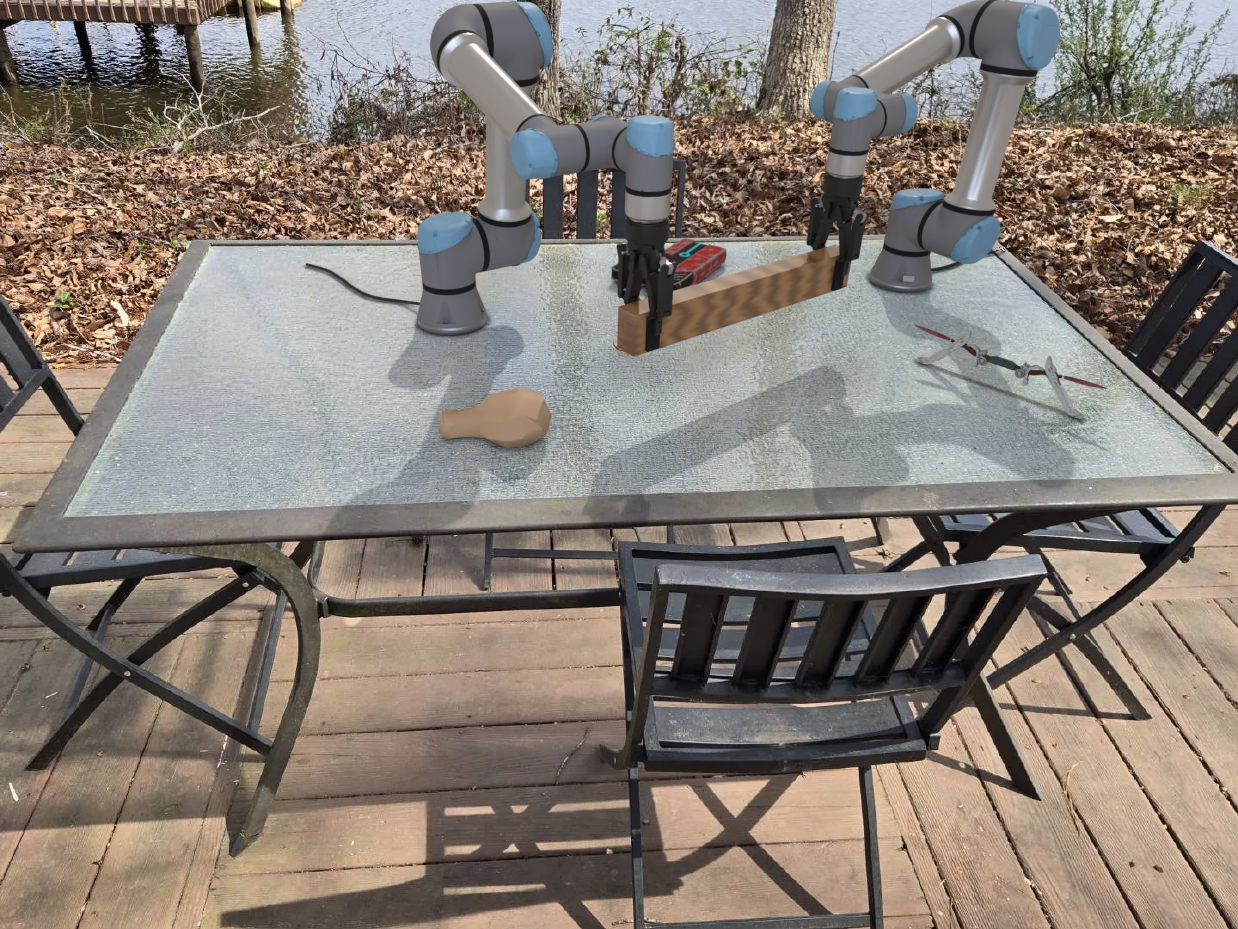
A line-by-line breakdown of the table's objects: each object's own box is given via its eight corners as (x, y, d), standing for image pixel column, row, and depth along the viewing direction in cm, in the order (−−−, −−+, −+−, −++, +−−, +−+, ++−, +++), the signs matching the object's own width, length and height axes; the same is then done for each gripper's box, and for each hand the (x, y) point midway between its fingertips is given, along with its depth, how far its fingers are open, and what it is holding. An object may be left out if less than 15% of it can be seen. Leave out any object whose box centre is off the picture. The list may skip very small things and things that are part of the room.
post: (633, 357, 155) (635, 315, 151) (616, 347, 158) (618, 306, 154) (846, 286, 186) (853, 250, 182) (829, 279, 190) (835, 244, 185)
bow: (1096, 421, 167) (1113, 374, 161) (1092, 425, 165) (1110, 378, 160) (909, 355, 188) (919, 312, 182) (905, 358, 187) (915, 315, 181)
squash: (553, 454, 153) (544, 415, 147) (441, 463, 154) (428, 425, 148) (556, 414, 161) (548, 375, 154) (450, 422, 162) (438, 384, 156)
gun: (605, 267, 214) (675, 286, 206) (666, 230, 236) (731, 246, 228) (605, 285, 217) (674, 304, 209) (664, 246, 239) (729, 263, 231)
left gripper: (700, 226, 142) (690, 356, 154) (631, 199, 153) (628, 322, 166) (664, 235, 138) (658, 368, 151) (597, 206, 149) (596, 331, 162)
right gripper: (893, 181, 169) (871, 294, 182) (823, 160, 180) (807, 268, 193) (867, 187, 165) (847, 303, 178) (797, 165, 177) (783, 275, 190)
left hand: (642, 343), depth 158 cm, fingers closed on post, 5 cm apart
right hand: (826, 284), depth 186 cm, fingers closed on post, 5 cm apart
